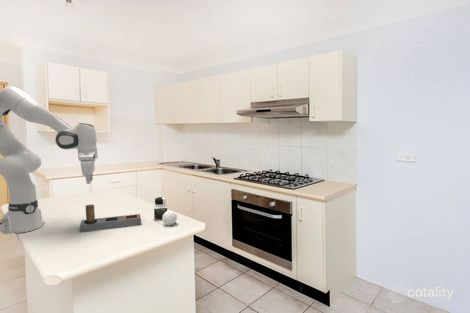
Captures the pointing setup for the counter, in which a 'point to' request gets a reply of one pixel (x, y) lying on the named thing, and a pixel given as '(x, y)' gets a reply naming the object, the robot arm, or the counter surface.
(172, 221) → the ball
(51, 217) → the counter surface
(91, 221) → the walnut peg
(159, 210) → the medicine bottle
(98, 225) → the rectangular metal frame
